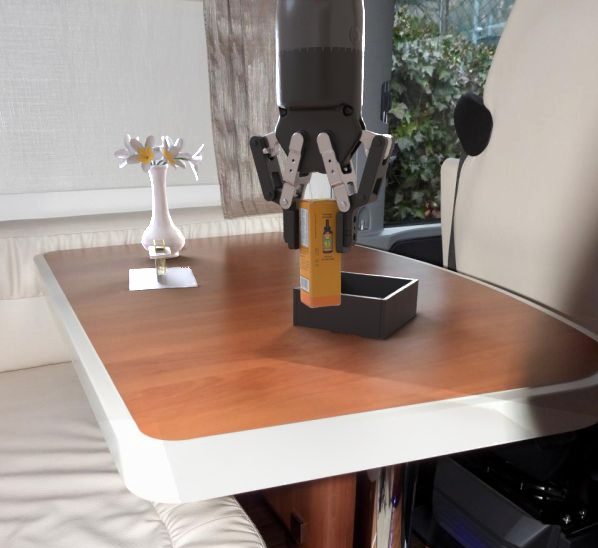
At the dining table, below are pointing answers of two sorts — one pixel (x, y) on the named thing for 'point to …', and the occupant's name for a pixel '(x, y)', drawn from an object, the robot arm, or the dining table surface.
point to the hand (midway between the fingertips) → (319, 249)
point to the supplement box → (319, 253)
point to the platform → (161, 273)
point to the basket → (362, 306)
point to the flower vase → (159, 184)
